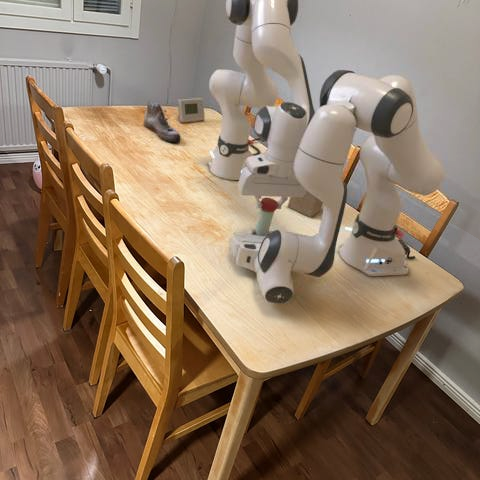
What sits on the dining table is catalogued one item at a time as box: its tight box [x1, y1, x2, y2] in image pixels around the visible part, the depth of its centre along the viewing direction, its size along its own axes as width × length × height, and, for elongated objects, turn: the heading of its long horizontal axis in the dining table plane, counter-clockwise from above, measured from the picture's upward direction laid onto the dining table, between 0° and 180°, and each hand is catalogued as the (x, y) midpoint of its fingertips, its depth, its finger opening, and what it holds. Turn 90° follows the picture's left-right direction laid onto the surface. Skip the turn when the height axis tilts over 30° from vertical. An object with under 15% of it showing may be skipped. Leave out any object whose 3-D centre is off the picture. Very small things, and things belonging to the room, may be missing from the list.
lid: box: [260, 197, 278, 212], centre depth 128 cm, size 5×5×2 cm
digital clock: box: [177, 97, 206, 124], centre depth 221 cm, size 16×9×11 cm, turn 123°
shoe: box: [143, 101, 181, 144], centre depth 198 cm, size 25×11×12 cm, turn 30°
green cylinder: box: [255, 209, 275, 236], centre depth 132 cm, size 4×4×16 cm
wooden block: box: [287, 191, 324, 218], centre depth 160 cm, size 10×10×20 cm
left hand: (267, 207), depth 128 cm, fingers closed on lid, 5 cm apart
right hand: (260, 231), depth 134 cm, fingers closed on green cylinder, 4 cm apart
